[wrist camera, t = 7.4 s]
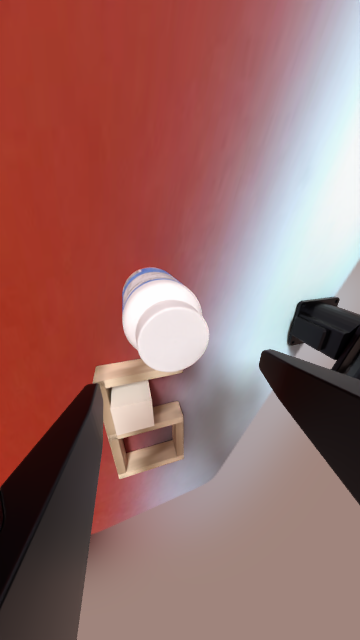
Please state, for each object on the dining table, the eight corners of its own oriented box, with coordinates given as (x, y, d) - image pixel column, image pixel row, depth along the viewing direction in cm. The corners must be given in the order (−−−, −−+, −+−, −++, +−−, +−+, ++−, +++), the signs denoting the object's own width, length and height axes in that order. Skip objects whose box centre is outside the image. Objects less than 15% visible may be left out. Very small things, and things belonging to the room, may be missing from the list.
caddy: (176, 352, 22) (182, 365, 20) (179, 442, 29) (183, 458, 27) (96, 366, 20) (92, 382, 18) (119, 459, 27) (119, 479, 25)
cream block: (147, 373, 23) (151, 399, 19) (149, 397, 24) (154, 425, 21) (112, 380, 22) (110, 409, 18) (117, 405, 23) (116, 435, 20)
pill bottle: (177, 315, 20) (217, 375, 12) (126, 321, 19) (129, 393, 10) (176, 263, 18) (225, 291, 9) (118, 266, 17) (114, 301, 8)
